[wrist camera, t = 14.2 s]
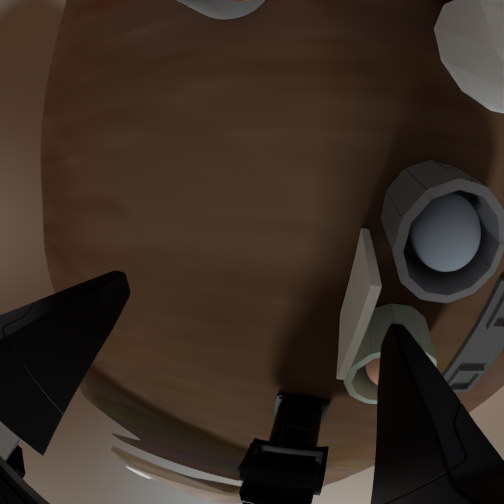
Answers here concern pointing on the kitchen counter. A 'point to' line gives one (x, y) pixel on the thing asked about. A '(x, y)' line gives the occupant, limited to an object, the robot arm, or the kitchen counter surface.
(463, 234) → the ball slate
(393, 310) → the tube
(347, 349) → the dot card
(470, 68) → the vase
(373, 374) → the ball terracotta
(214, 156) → the kitchen counter surface
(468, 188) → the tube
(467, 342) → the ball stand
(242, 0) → the lotion bottle
